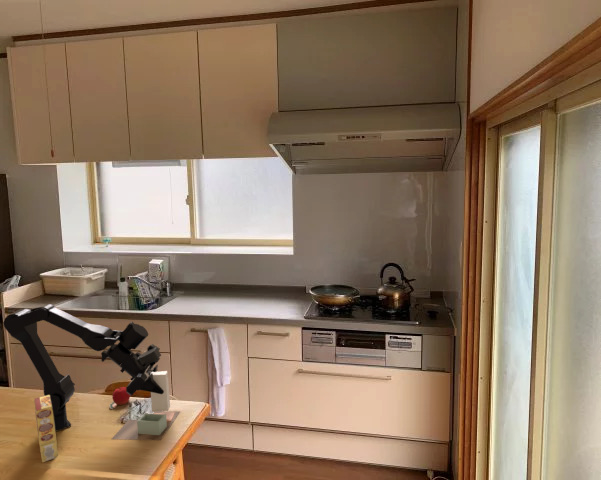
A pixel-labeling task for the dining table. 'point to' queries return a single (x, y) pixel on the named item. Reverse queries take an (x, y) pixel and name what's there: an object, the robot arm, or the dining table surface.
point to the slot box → (152, 424)
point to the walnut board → (131, 433)
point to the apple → (119, 397)
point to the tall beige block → (161, 400)
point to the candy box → (46, 428)
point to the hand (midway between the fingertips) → (164, 390)
